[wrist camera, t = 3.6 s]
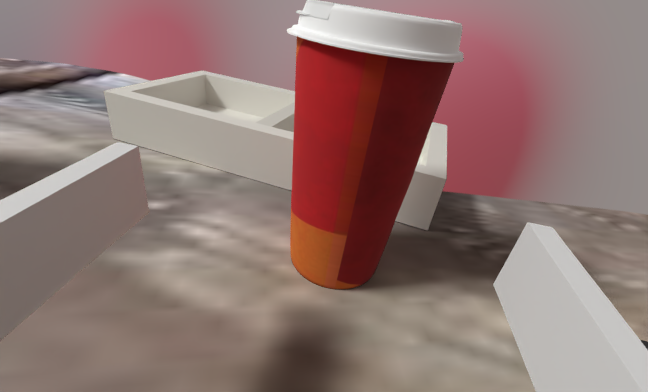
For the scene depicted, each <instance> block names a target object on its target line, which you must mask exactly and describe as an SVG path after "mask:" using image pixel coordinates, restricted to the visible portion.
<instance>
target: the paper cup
mask: <svg viewBox="0 0 648 392" xmlns="http://www.w3.org/2000/svg"><path fill="white" fill-rule="evenodd" d="M296 13H299V14H300V17H299V21H298V25H293V26H292V28H289V29H287V32H288V33H289V34H292V35H295V36H297V52H296V80H295V109H294V137H293V166H292V197H291V259H292V263H293V265H294V267H295V268H296V270H297V271H298V272H299V273H300V274H301V275H302V276H303V277H304V278H306V279H307V280H309V281H310V282H312V283H314V284H317V285H319V286H322V287H326V288H331V289H350V288H355V287H358V286H360V285H362V284H364V283H366V282H367V281H368V280H369V279H370V278H371V277H372V275H373V274H374V272H375V270H376V268H377V266H378V263H379V261H380V258H381V256H382V253H383V251H384V248H385V246H386V243H387V241H388V238H389V235H390V233H391V230H392V228H393V225H394V222H395V220H396V217H397V215H398V212H399V210H400V207H401V205H402V202H403V200H404V198H405V195H406V193H407V190H408V188H409V185H410V183H411V180H412V177H413V175H414V172H415V169H416V166H417V163H418V161H419V158H420V155H421V152H422V149H423V146H424V144H425V141H426V138H427V135H428V132H429V129H430V127H431V124H432V121H433V119H434V116H435V113H436V111H437V108H438V105H439V103H440V100H441V97H442V94H443V92H444V89H445V87H446V84H447V81H448V79H449V76H450V73H451V71H452V68H453V65H454V63H455V62H462V61H463V59H464V58H463V53H462V52H460V51H459V46H460V40H461V34H462V26H461V23H455V22H454V21H448V20H443V21H442V20H437V19H430V18H425V17H418V16H412V15H405V14H400V13H393V12H387V11H381V10H374V9H368V8H362V7H355V6H349V5H343V4H337V3H330V2H324V1H317V0H307V2H306V4H305V7H304V9H303V11H299V10H298V11H297V12H296Z"/></svg>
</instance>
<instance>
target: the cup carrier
mask: <svg viewBox="0 0 648 392" xmlns="http://www.w3.org/2000/svg"><path fill="white" fill-rule="evenodd" d="M104 96H105V100H106V105H107V110H108V115H109V120H110V125H111V130H112V135H113V139H117V140H120V141H124V142H127V143H130V144H134V145H137V146H141V147H144V148H147V149H151V150H154V151H158V152H161V153H165V154H168V155H171V156H175V157H178V158H182V159H185V160H188V161H192V162H195V163H199V164H202V165H205V166H209V167H212V168H216V169H219V170H223V171H226V172H229V173H233V174H236V175H240V176H243V177H246V178H250V179H253V180H257V181H260V182H263V183H267V184H270V185H274V186H277V187H281V188H284V189H287V190H291V191H292V166H293V137H294V109H295V91H291V90H286V89H282V88H277V87H273V86H269V85H264V84H260V83H255V82H251V81H246V80H242V79H237V78H233V77H228V76H224V75H220V74H215V73H211V72H206V71H198V72H193V73H188V74H183V75H178V76H173V77H168V78H164V79H159V80H154V81H149V82H144V83H139V84H135V85H130V86H125V87H120V88H115V89H110V90H105V91H104ZM446 179H447V125H443V124H438V123H433V122H432V124H431V127H430V129H429V132H428V135H427V138H426V141H425V144H424V146H423V149H422V152H421V155H420V158H419V161H418V163H417V166H416V169H415V172H414V175H413V177H412V180H411V183H410V185H409V188H408V190H407V193H406V195H405V198H404V200H403V202H402V205H401V207H400V210H399V212H398V215H397V217H396V220H395V221H397V222H400V223H403V224H407V225H410V226H414V227H417V228H420V229H424V230H427V231H428V228H429V225H430V223H431V220H432V217H433V215H434V212H435V209H436V207H437V204H438V201H439V198H440V196H441V193H442V190H443V188H444V185H445V182H446Z"/></svg>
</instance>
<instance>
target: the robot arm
mask: <svg viewBox="0 0 648 392" xmlns="http://www.w3.org/2000/svg"><path fill="white" fill-rule="evenodd" d="M148 213H149V208H148V202H147V196H146V190H145V184H144V178H143V172H142V166H141V159H140V153H139V147H138V146H135V145H130V144H125V143H120V142H117V143H114V144H112V145H110V146H108V147H106V148H104V149H102V150H100V151H98V152H96V153H94V154H92V155H90V156H88V157H86V158H84V159H82V160H80V161H78V162H76V163H74V164H72V165H70V166H68V167H66V168H64V169H62V170H60V171H58V172H56V173H54V174H52V175H50V176H48V177H46V178H44V179H42V180H40V181H38V182H36V183H34V184H32V185H30V186H28V187H26V188H24V189H22V190H20V191H18V192H16V193H14V194H12V195H10V196H8V197H6V198H4V199H2V200H0V341H1V340H2V339H3V338H4V337H6V336H7V335H8V334H9V333H10V332H11V331H12V330H14V329H15V328H16V327H17V326H18V325H19V324H21V323H22V322H23V321H24V320H25V319H26V318H27V317H29V316H30V315H31V314H32V313H33V312H34V311H36V310H37V309H38V308H39V307H40V306H41V305H43V304H44V303H45V302H46V301H47V300H48V299H49V298H51V297H52V296H53V295H54V294H55V293H56V292H58V291H59V290H60V289H61V288H62V287H63V286H65V285H66V284H67V283H68V282H69V281H70V280H71V279H73V278H74V277H75V276H76V275H77V274H78V273H80V272H81V271H82V270H83V269H84V268H85V267H86V266H88V265H89V264H90V263H91V262H92V261H93V260H95V259H96V258H97V257H98V256H99V255H100V254H102V253H103V252H104V251H105V250H106V249H107V248H108V247H110V246H111V245H112V244H113V243H114V242H115V241H117V240H118V239H119V238H120V237H121V236H122V235H124V234H125V233H126V232H127V231H128V230H129V229H130V228H132V227H133V226H134V225H135V224H136V223H137V222H139V221H140V220H141V219H142V218H143V217H144V216H145V215H147V214H148ZM493 285H494V288H495V290H496V293H497V295H498V298H499V300H500V303H501V305H502V308H503V310H504V313H505V315H506V318H507V320H508V323H509V325H510V328H511V330H512V333H513V335H514V338H515V340H516V343H517V345H518V348H519V350H520V353H521V355H522V358H523V360H524V363H525V365H526V368H527V370H528V373H529V375H530V378H531V380H532V383H533V385H534V388H535V390H536V392H648V342H647V341H642V340H640V339H639V338H638V337H637V335H636V334H635V333H634V332H633V330H632V329H631V328H630V326H629V325H628V324H627V323H626V321H625V320H624V319H623V317H622V316H621V315H620V314H619V312H618V311H617V310H616V308H615V307H614V306H613V305H612V303H611V302H610V301H609V299H608V298H607V297H606V296H605V294H604V293H603V292H602V290H601V289H600V288H599V287H598V285H597V284H596V283H595V281H594V280H593V279H592V278H591V276H590V275H589V274H588V272H587V271H586V270H585V269H584V267H583V266H582V265H581V263H580V262H579V261H578V260H577V258H576V257H575V256H574V254H573V253H572V252H571V251H570V249H569V248H568V247H567V245H566V244H565V243H564V242H563V240H562V239H561V238H560V236H559V235H558V234H557V233H556V231H555V230H554V229H553V227H549V226H544V225H539V224H534V223H528V222H527V224H526V226H525V228H524V230H523V231H522V233H521V235H520V237H519V239H518V241H517V242H516V244H515V246H514V248H513V250H512V251H511V253H510V255H509V257H508V259H507V260H506V262H505V264H504V266H503V268H502V269H501V271H500V273H499V275H498V277H497V279H496V280H495V282H494V284H493Z"/></svg>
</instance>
